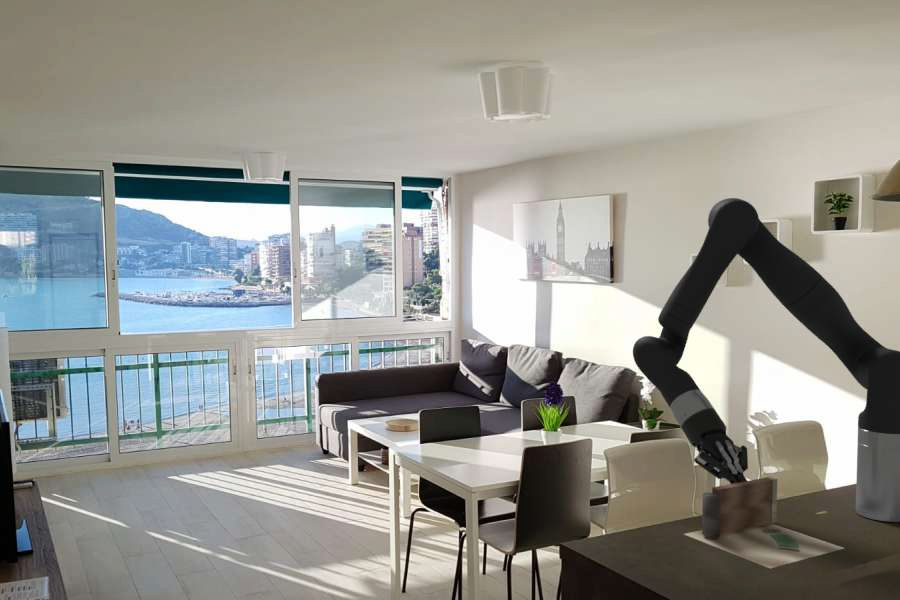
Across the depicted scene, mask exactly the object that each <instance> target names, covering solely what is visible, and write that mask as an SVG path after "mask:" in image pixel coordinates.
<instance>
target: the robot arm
mask: <svg viewBox="0 0 900 600" xmlns="http://www.w3.org/2000/svg"><path fill="white" fill-rule="evenodd" d="M707 218H708V219H707V226H708V230H707V233H706V236H705V238H704V241H703V243H702V246H701V247H700V249H699V251H698V253H697V254H696V257H695V258H694V260H693V262H692V263H691V265H690V266H689V267H688V269H687V270H686V272H685V273H684V275H682V277H681V278H680V280H679V281H678V283H677V284H676V285H675V287H674V289H673V290H672V292H671V293H670V295H669V297H668V299H667V300H666V302H665V304H664V306H663V307H662V309H661V311H660V313H659V316H658V319H657V320H658V323H659V324H660V326H661V327H662V329H661V333H660V334H659V337H656V336H652V335H645V336H643V337H639V338H638V339H637V340H636V341H635V342H634V344H633V348H632V357H633V360H634V363H635V365H636V366H637V368H638V370H639V371H640V372H641V373H642V374H643V375H644V376H645V378H647V380H648V381H649V383H651V385H653V386H654V387H655V388H656V389H657V390H658V392H660V394H661V396H662V397H663V399H664V401H665V402H666V404H667V406H668V407H669V409H670V410H671V413H672V415H673V417H674V419H675V421H676V422H677V424H678V426H679V427H680V429H681V430H682V432H683V433H684V436H685V437H686V438H687V440H688V441H689V443H690V444H691V446H692V447H694V448H696V450H697V452H698V454H697V456H696V457H695V458H694V459H693V461H694V463H695V464H697V465H698V466H700V467H701V468H702V469H703V470H705V471H707V472H708V473H710V475H712V476H714V477H715V478H717V479H719V480H721V479H724V480H725V481H727V482H729V484H734V483H739V482H745V481H748V480H747V478H746V477H745V475H744V472H745V471H747V470H748V469H749V465H748V464H749V462H748V448H747V447H746V446H745V445H741V446H738V445H736V444H734V441H733V440H732V439H731V438H730V436H728V434H727V425H726V424H725V423H724V421H723V419H722V417H720V415H719V414H718V412H717V411H716V409H715V407H714V406H713V404H712V403H711V402H710V400H709V399H708V398H707V396H706V395H705V394H704V393H703V392H702V390H701V389H700V388H699V386H698V385H697V383H696V382H695V380H694V378H693V377H692V375H690V373H689V372H688V371H686V370H685V369H683V368H681V367H679V366H677V365H678V364H679V363H680V361H681V360H682V357H683V355H684V352H685V349H686V345H687V342H688V339H689V334H690V331H691V330H692V328H693V326H694V324H695V323H696V321H697V320H698V319H699V316H700V315H701V313H702V311H703V310H704V308H705V305H706V304H707V303H708V300H709V299H710V297H711V295H712V293H713V291H714V289H715V288H716V286H717V284H718V282H719V281H720V280H721V277H722V276H723V274H724V273H725V271H726V270H727V268H729V265H730V264H732V261H733V260H734V259H735V258H736V256H737V255H738V256H740V257H741V258H742V259H743V260H744V261H745V262H746V263H747V264H748V265H749V266H750V267H751V268H752V269H753V270H754V271H755V273H756V274H757V276H758V277H759V279H760V280H761V281H762V283H764V285H765V286H766V288H768V290H769V291H770V292H771V293H772V294H773V296H774V297H775V299H777V300H778V301H779V303H780V304H781V305H782V306H783V307H784V308H785V309H786V310H787V311H788V312H789V313H790V314H791V315H792V316H794V317H795V319H796V320H798V321H799V322H800V323H801V324H802V325H803V326H804V327H805V328H806V329H807V330H808V331H809V332H810V333H812V335H814V336H815V337H817V339H818V340H820V341H821V342H822V343H824V344H825V346H827V347H828V348H829V349H830V350H831V351H832V352H833V353H834V355H835V356H836V357H837V358H838V359H839V360H840V362H841V363H842V364H843V365H844V367H845V368H846V369H847V370H848V372H849V373H850V374H851V376H852V377H853V378H854V379H855V380H856V382H857V383H858V384H859V385H860V386H861V387H862V388H863V389H865V390H866V400H865V401H866V402H865V407H864V409H863V411H861V412H860V413H859V414H858V417H857V446H856V447H857V452H856V453H857V454H856V456H857V457H856V486H855V488H856V489H855V513H856V514H857V515H859V516H861V517H864V518H867V519H870V520H876V521H880V522H889V523H900V350H895V349H891V348H887V347H885V346H884V345H882V344H881V343H880V342H879V341H878V340H876V339H875V338H874V337H872V336H871V335H870V334H869V333H868V332H867V331H865V329H863V327H861V325H860V324H859V323H858V322H857V321H856V320H855V318H854V316H853V315H852V312H851V311H850V309H849V307H848V305H847V303H846V301H844V298H843V297H842V296H841V295H840V293H839V292H838V290H836V288H834V286H833V285H832V284H831V283H830V282H828V280H827V279H826V278H825V277H823V276H822V275H821V274H820V272H818V271H817V270H816V269H815V268H814V267H812V266H811V264H809V263H808V262H807V261H806V260H804V259H803V258H802V257H800V256H799V254H796V252H793V251H792V250H791V249H790V248H789V247H787V246H786V245H784V244H783V243H782V242H780V241H779V240H778V239H777V238H776V237H775V236H774V235H773V234H772V233H771V231H770V230H769V229H768V228H767V227H766V226H765V224H764V223H763V222H762V221H761V220H760V218H759V214H758V211H757V209H756V208H755V207H754V206H753V204H752V203H750V202H749V201H747V200H743V199H741V198H735V197H731V198H730V197H729V198H724V199H721V200H720V201H718V202H716V203H715V204H714V205H713V206H712V208H711V209H710V211H709V214H708V217H707ZM794 317H793V318H794Z"/></svg>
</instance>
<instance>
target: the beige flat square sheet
mask: <svg viewBox="0 0 900 600" xmlns="http://www.w3.org/2000/svg"><path fill="white" fill-rule="evenodd" d="M683 535H685V536H687V537H689V538H692V539H695V540H697V541H700V542H702V543H704V544H706V545H709V546H712V547H714V548H717V549H720V550H722V551H724V552H727V553H730V554H733V555H734V556H737V557H739V558H742V559H744V560H745V559H746V560H747V561H750V562H753V563H755V564H758V565H759V566H763V567H765V568H768V569H775V568H778V567H782V566H785V565H790V564H793V563H797V562H800V561H803V560H807V559H811V558H814V557H818V556H822V555H823V556H824V555H826V554H829V553H833V552H837V551H840V550H845V547H843V546H840V545H836V544H835V543H830V542H828V541H824V540H823V539H822V540H821V539H818V538H816V537H813V536H809V535H807V534H805V533H801V532H798V531H795V530H791V529H788V528H786V527H783V526H781V525H777V524H773V523H769V524H765V525H760V526H756V527H751V528H747V529H743V530H738V531H734V532H729V533H725V534H721V535H720V536H719V537H707V536H704V535H702V529H700V530H696V531H692V532H687V533H683Z"/></svg>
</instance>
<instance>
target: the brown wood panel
mask: <svg viewBox="0 0 900 600" xmlns="http://www.w3.org/2000/svg"><path fill="white" fill-rule="evenodd" d="M777 502H778V478H775V477H771V476H766V477H762V478H757V479H751V480H747V481H745V482H739V483H734V484H730V483H729V484H723V485H718V486H712V488H711V492H703V493H702V513H701V514H702V515H701V516H702V517H701V518H702V519H701V520H702V521H701V530H702V535H704V536H707V537H719V536H720V535H721V534H725V533H729V532H734V531H738V530H743V529H747V528H751V527H756V526H760V525H765V524H769V523H771V524H773V523H777V515H778V514H777V508H778V503H777Z"/></svg>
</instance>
